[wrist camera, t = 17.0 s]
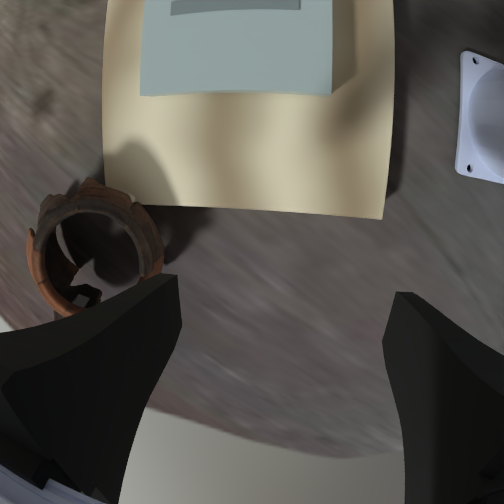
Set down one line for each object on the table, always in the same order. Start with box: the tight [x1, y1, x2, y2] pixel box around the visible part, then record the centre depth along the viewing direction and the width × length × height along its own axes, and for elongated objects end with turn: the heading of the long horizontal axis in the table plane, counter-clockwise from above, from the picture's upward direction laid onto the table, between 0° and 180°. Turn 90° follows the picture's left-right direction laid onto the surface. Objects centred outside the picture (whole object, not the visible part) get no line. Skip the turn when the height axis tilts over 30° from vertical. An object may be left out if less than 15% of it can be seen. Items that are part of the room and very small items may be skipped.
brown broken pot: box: [26, 177, 164, 321], centre depth 20 cm, size 12×10×8 cm
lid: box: [140, 0, 332, 97], centre depth 12 cm, size 9×9×2 cm
